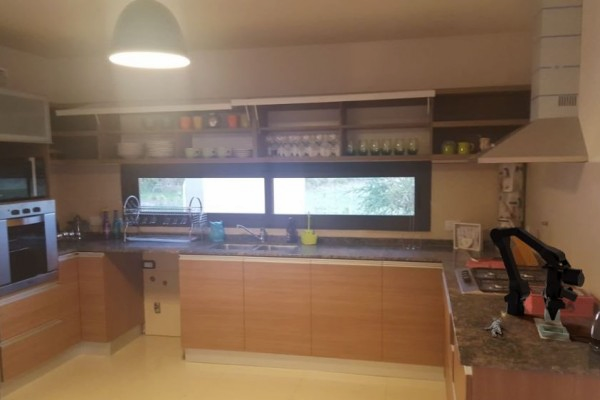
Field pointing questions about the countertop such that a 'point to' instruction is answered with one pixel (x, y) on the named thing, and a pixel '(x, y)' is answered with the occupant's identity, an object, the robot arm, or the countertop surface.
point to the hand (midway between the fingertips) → (551, 318)
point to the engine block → (548, 319)
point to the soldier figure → (495, 326)
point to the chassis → (551, 330)
